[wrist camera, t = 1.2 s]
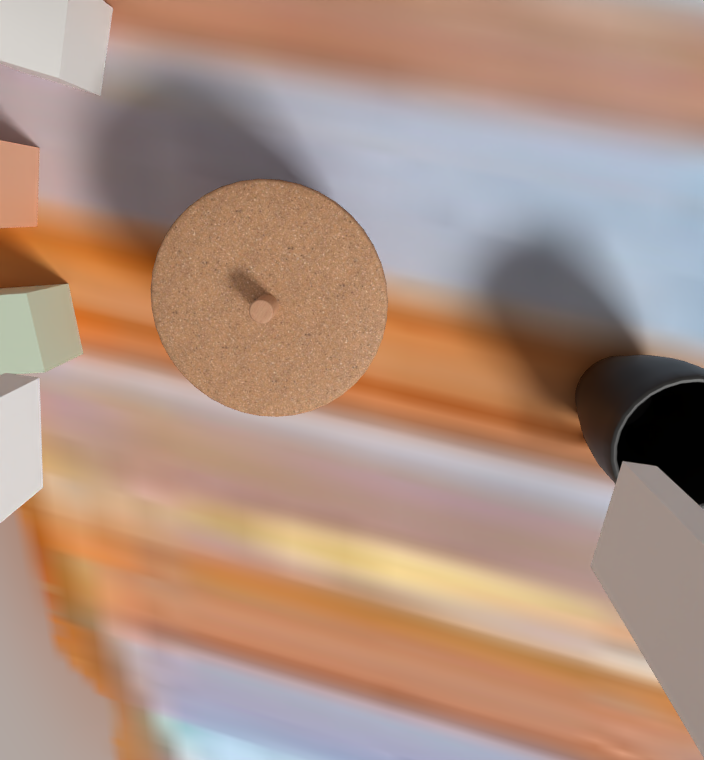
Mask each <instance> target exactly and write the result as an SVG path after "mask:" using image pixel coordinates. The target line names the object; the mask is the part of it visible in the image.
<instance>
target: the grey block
mask: <svg viewBox="0 0 704 760" xmlns="http://www.w3.org/2000/svg"><path fill="white" fill-rule="evenodd" d="M112 11H113V8H112V7H111V6H109V5H108V4H107V3H106V2H104V1H103V0H0V64H2V65H5V66H7V67H10V68H12V69H15V70H17V71H20V72H22V73H25V74H29V75H32V76H35V77H39V78H42V79H45V80H49V81H52V82H55V83H59V84H62V85H65V86H69V87H72V88H75V89H79V90H82V91H85V92H89V93H92V94H95V95H99V96H101V91H102V83H103V76H104V69H105V62H106V55H107V47H108V40H109V33H110V26H111V19H112Z"/></svg>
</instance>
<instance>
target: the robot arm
mask: <svg viewBox="0 0 704 760" xmlns="http://www.w3.org/2000/svg"><path fill="white" fill-rule="evenodd" d="M42 488H43V475H42V443H41V410H40V378H38V377H31V376H24V375H18V374H11V373H4V374H2V375H0V523H1V522H2V521H3V520H5V519H6V518H7V517H8V516H9V515H11V514H12V513H13V512H14V511H15V510H17V509H18V508H19V507H20V506H21V505H23V504H24V503H25V502H26V501H27V500H29V499H30V498H31V497H32V496H33V495H35V494H36V493H37V492H38V491H39V490H41V489H42ZM591 568H592V570H593V571H594V573H595V575H596V577H597V578H598V580H599V582H600V583H601V585H602V587H603V588H604V590H605V592H606V593H607V595H608V597H609V599H610V600H611V602H612V604H613V605H614V607H615V609H616V610H617V612H618V614H619V615H620V617H621V619H622V620H623V622H624V624H625V626H626V627H627V629H628V631H629V632H630V634H631V636H632V637H633V639H634V641H635V642H636V644H637V646H638V648H639V649H640V651H641V653H642V654H643V656H644V658H645V659H646V661H647V663H648V664H649V666H650V668H651V669H652V671H653V673H654V675H655V676H656V678H657V680H658V681H659V683H660V685H661V686H662V688H663V690H664V691H665V693H666V695H667V697H668V698H669V700H670V702H671V703H672V705H673V707H674V708H675V710H676V712H677V713H678V715H679V717H680V718H681V720H682V722H683V724H684V725H685V727H686V729H687V730H688V732H689V734H690V735H691V737H692V739H693V740H694V742H695V744H696V746H697V747H698V749H699V751H700V752H701V754H702V756H703V757H704V510H703V509H702V508H701V507H700V506H699V505H698V504H697V503H696V502H695V501H694V500H693V499H692V498H691V497H689V496H688V495H687V494H686V493H685V492H684V491H683V490H682V489H681V488H680V487H679V486H678V485H677V484H675V483H674V482H673V481H672V480H671V479H670V478H669V477H668V476H667V475H666V474H665V473H664V472H663V471H661V470H660V469H659V468H658V467H657V466H652V465H646V464H639V463H632V462H625V461H623V462H622V465H621V468H620V471H619V475H618V478H617V481H616V484H615V488H614V491H613V494H612V498H611V501H610V504H609V507H608V511H607V514H606V517H605V520H604V524H603V527H602V530H601V533H600V537H599V540H598V543H597V547H596V550H595V553H594V556H593V560H592V563H591Z"/></svg>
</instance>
